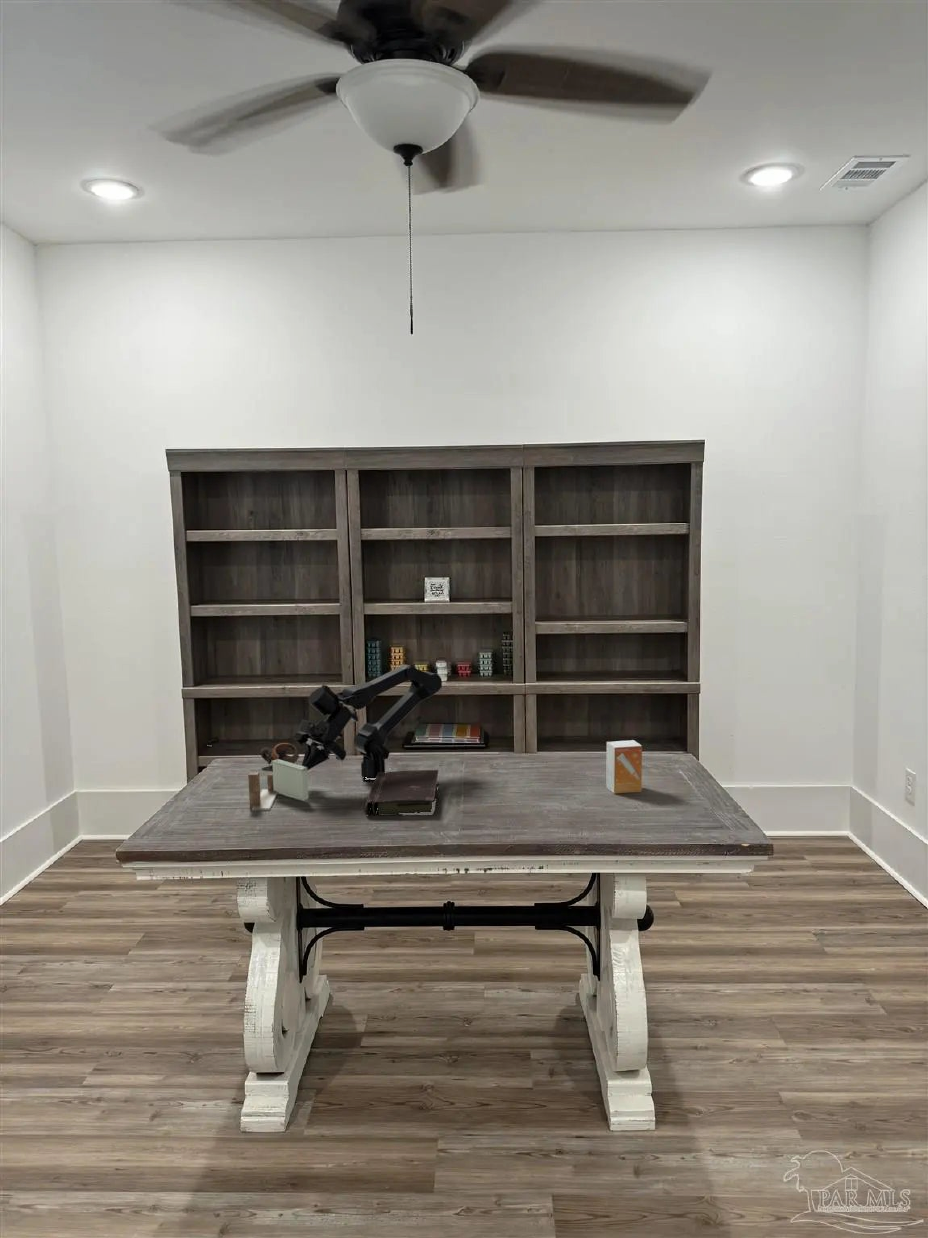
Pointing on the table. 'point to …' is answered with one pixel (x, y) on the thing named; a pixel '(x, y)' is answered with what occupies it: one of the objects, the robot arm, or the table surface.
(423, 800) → the diary
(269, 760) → the brown looped band
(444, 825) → the table surface
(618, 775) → the small box
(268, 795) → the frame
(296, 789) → the pale green flat panel
